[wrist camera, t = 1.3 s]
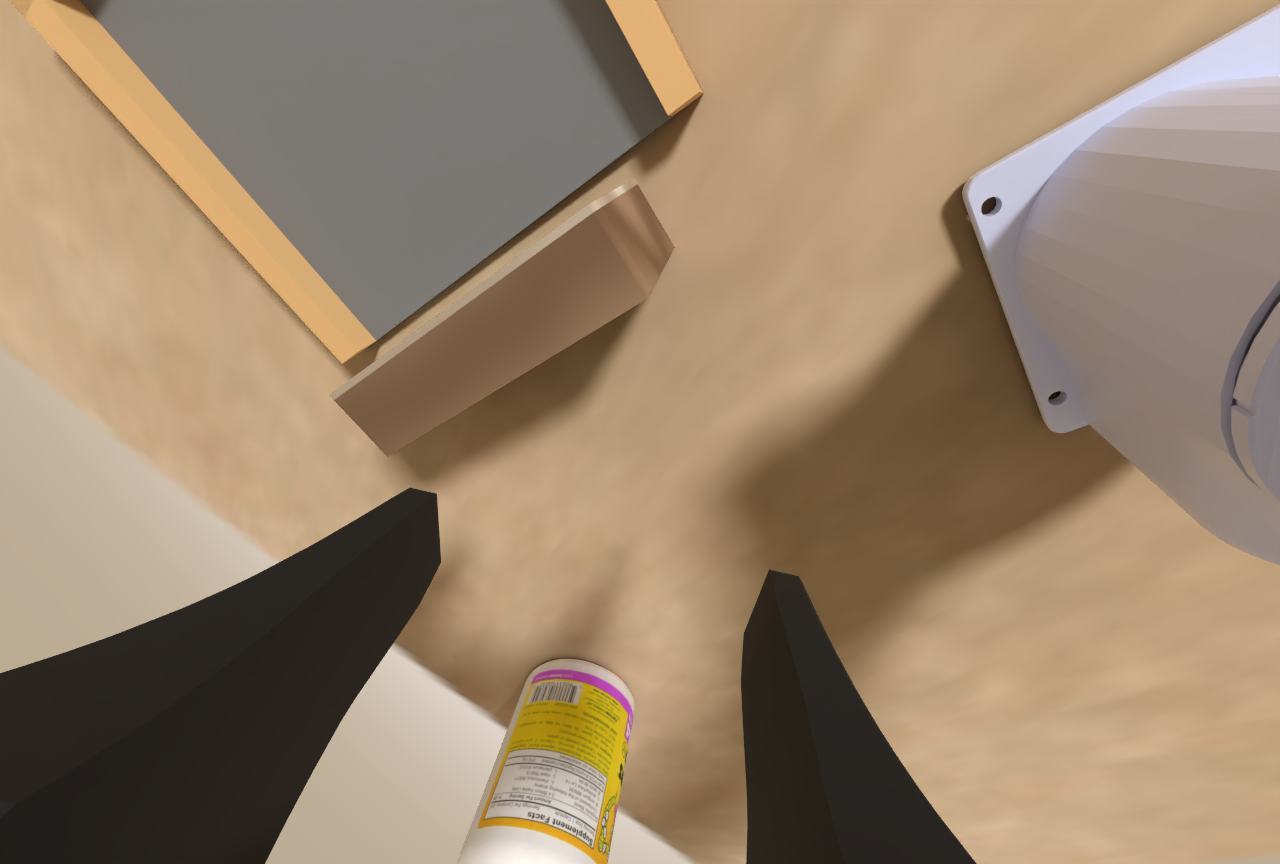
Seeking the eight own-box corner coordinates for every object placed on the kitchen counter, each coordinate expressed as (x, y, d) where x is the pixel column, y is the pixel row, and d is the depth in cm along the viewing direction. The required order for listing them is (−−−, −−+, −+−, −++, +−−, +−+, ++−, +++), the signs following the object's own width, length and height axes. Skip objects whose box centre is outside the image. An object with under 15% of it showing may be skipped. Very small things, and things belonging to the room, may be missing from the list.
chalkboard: (703, 93, 16) (699, 91, 14) (366, 348, 22) (342, 363, 21) (352, -594, 11) (295, -697, 9) (52, -7, 17) (-8, -18, 16)
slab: (675, 246, 18) (647, 298, 13) (470, 377, 22) (387, 456, 17) (634, 178, 17) (587, 204, 12) (428, 327, 21) (329, 394, 16)
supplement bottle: (600, 735, 34) (532, 1029, 23) (511, 687, 33) (395, 971, 22) (659, 691, 30) (612, 1011, 20) (561, 635, 29) (454, 941, 19)
